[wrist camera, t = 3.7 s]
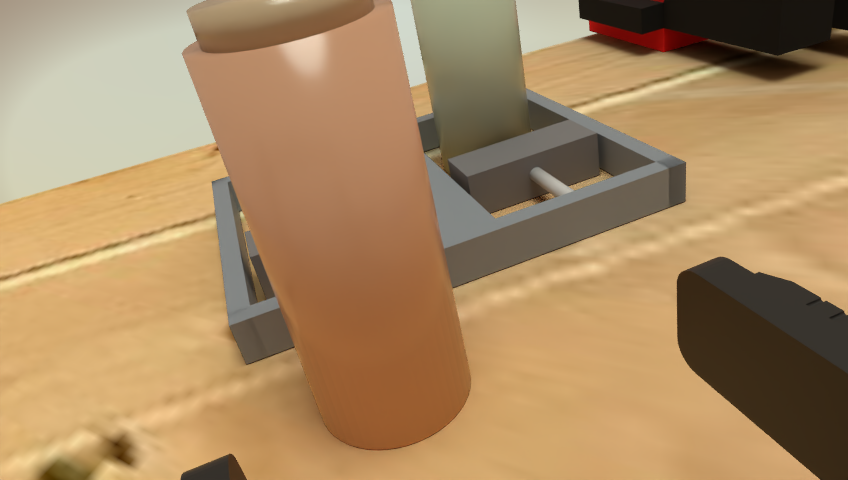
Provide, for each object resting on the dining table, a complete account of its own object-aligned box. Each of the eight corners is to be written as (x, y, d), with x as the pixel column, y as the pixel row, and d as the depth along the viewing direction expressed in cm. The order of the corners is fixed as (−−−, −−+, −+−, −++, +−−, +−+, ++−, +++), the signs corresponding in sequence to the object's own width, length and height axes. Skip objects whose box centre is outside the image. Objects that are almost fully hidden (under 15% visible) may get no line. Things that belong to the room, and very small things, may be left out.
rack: (246, 364, 28) (225, 318, 27) (223, 210, 43) (209, 176, 42) (685, 201, 32) (685, 154, 31) (523, 113, 48) (519, 80, 46)
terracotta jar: (338, 475, 22) (165, 32, 14) (308, 370, 27) (169, 4, 19) (496, 409, 23) (413, -32, 15) (438, 321, 28) (355, -42, 20)
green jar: (464, 188, 39) (414, -80, 31) (431, 158, 44) (382, -79, 36) (550, 158, 40) (522, -106, 33) (508, 132, 45) (476, -102, 38)
